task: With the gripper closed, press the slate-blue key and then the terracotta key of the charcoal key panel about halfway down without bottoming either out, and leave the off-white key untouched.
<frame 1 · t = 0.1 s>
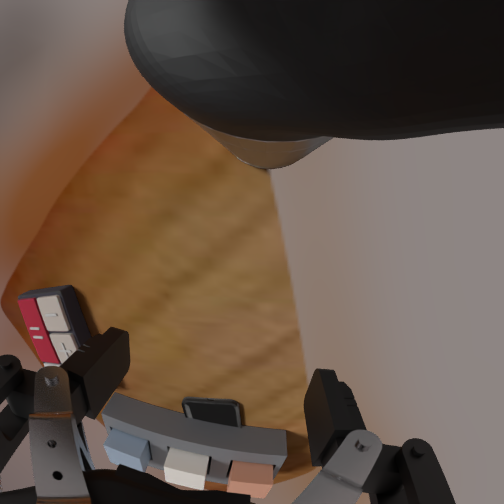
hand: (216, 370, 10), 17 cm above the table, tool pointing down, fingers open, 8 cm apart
white key: (186, 469, 28), point 7 cm above the table, slide at 0.0 cm
phone: (217, 428, 35), on the table
key panel: (195, 438, 35), on the table
slate key: (128, 451, 29), point 7 cm above the table, slide at 0.0 cm
calculator: (67, 333, 32), on the table
terracotta key: (249, 480, 28), point 7 cm above the table, slide at 0.0 cm
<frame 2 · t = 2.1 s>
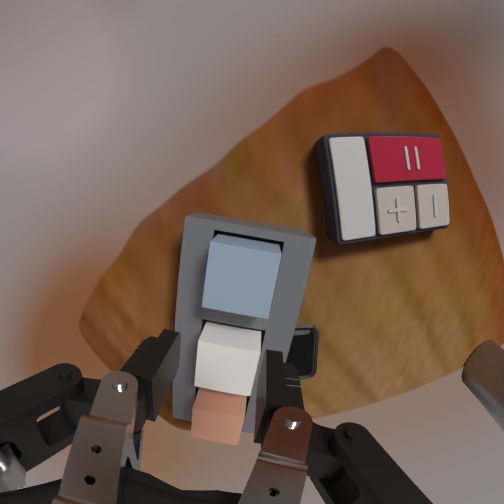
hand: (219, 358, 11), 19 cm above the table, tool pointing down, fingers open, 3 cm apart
white key: (227, 359, 26), point 7 cm above the table, slide at 0.0 cm
phone: (257, 352, 33), on the table
key panel: (234, 329, 32), on the table
slate key: (241, 274, 24), point 7 cm above the table, slide at 0.0 cm
calculator: (382, 184, 28), on the table
terracotta key: (218, 417, 28), point 7 cm above the table, slide at 0.0 cm
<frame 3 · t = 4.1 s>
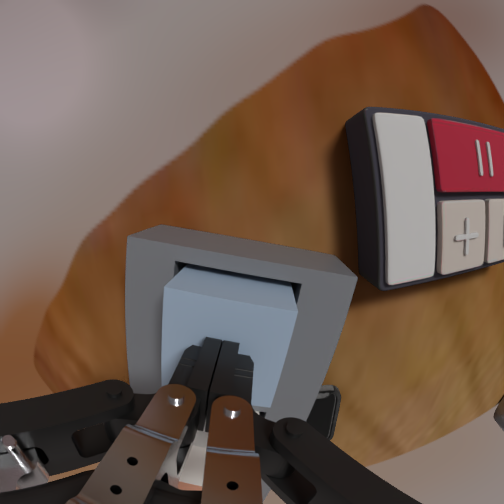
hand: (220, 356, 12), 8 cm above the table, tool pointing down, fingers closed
white key: (209, 448, 14), point 7 cm above the table, slide at 0.0 cm
phone: (254, 415, 22), on the table
key panel: (221, 390, 21), on the table
slate key: (226, 335, 13), point 6 cm above the table, slide at 0.9 cm, touching gripper
calculator: (437, 193, 17), on the table
terracotta key: (203, 495, 16), point 7 cm above the table, slide at 0.0 cm
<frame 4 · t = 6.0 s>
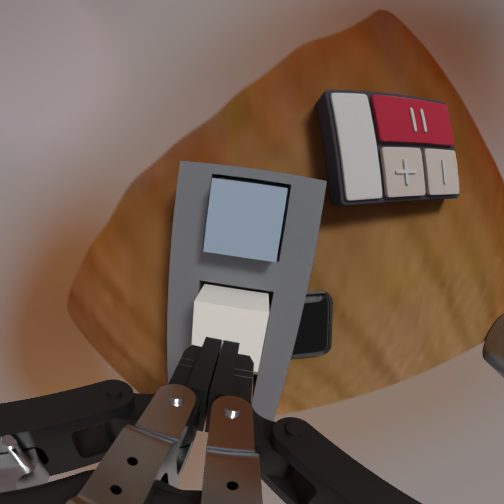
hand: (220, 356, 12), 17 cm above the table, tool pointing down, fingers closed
white key: (230, 327, 22), point 7 cm above the table, slide at 0.0 cm
phone: (263, 326, 30), on the table
key panel: (237, 298, 29), on the table
slate key: (246, 217, 22), point 5 cm above the table, slide at 1.7 cm
calculator: (388, 149, 25), on the table
terracotta key: (221, 402, 24), point 7 cm above the table, slide at 0.0 cm
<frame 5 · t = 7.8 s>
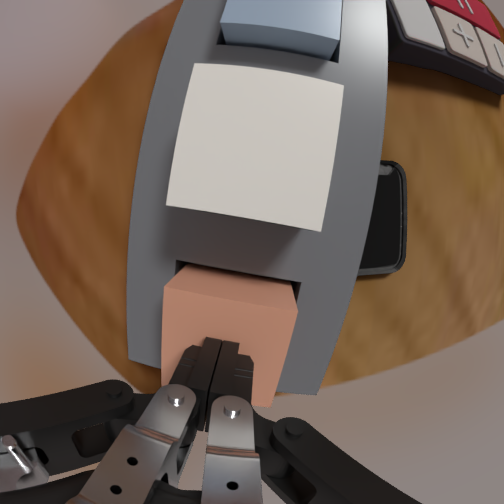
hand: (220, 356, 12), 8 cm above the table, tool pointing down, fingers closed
white key: (257, 147, 11), point 7 cm above the table, slide at 0.0 cm
phone: (300, 219, 18), on the table
key panel: (260, 163, 17), on the table
slate key: (284, 11, 10), point 5 cm above the table, slide at 1.7 cm
calculator: (435, 31, 14), on the table
terracotta key: (226, 335, 13), point 6 cm above the table, slide at 0.7 cm, touching gripper
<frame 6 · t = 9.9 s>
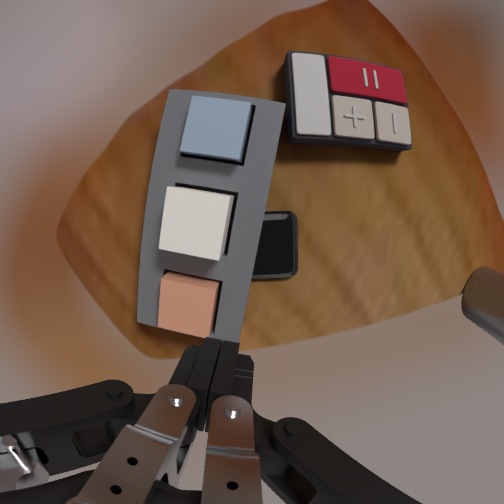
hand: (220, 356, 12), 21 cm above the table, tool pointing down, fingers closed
white key: (197, 220, 25), point 7 cm above the table, slide at 0.0 cm
phone: (233, 245, 33), on the table
key panel: (209, 214, 31), on the table
slate key: (217, 130, 25), point 5 cm above the table, slide at 1.7 cm
calculator: (345, 105, 29), on the table
terracotta key: (189, 302, 29), point 5 cm above the table, slide at 1.7 cm
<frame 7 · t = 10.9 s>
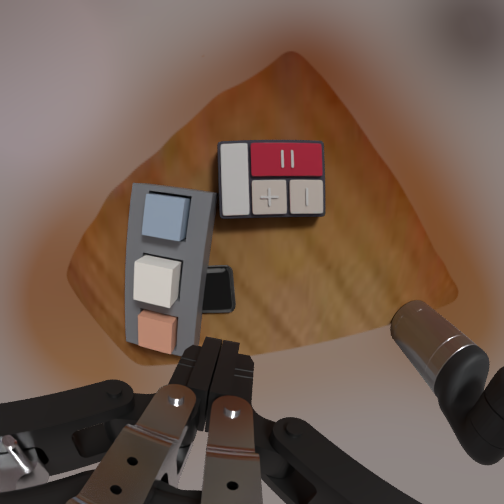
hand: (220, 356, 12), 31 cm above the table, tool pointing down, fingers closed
white key: (157, 280, 37), point 7 cm above the table, slide at 0.0 cm
phone: (189, 288, 45), on the table
key panel: (171, 268, 43), on the table
slate key: (167, 215, 37), point 5 cm above the table, slide at 1.7 cm
calculator: (271, 179, 40), on the table
terracotta key: (158, 329, 41), point 5 cm above the table, slide at 1.7 cm
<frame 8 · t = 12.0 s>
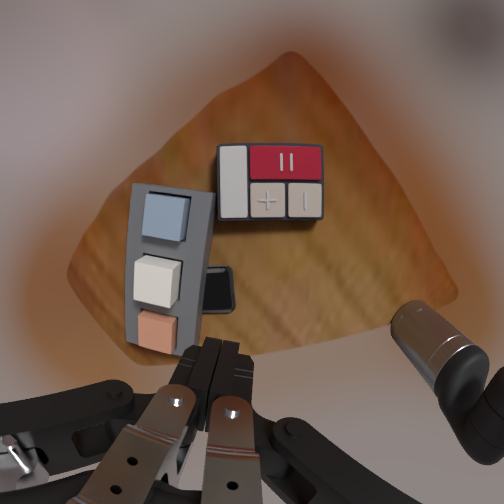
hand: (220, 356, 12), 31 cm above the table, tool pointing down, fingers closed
white key: (157, 280, 37), point 7 cm above the table, slide at 0.0 cm
phone: (189, 288, 45), on the table
key panel: (171, 268, 43), on the table
slate key: (167, 216, 37), point 5 cm above the table, slide at 1.7 cm
calculator: (270, 182, 40), on the table
terracotta key: (158, 329, 41), point 5 cm above the table, slide at 1.7 cm
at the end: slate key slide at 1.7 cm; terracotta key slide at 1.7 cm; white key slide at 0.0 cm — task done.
